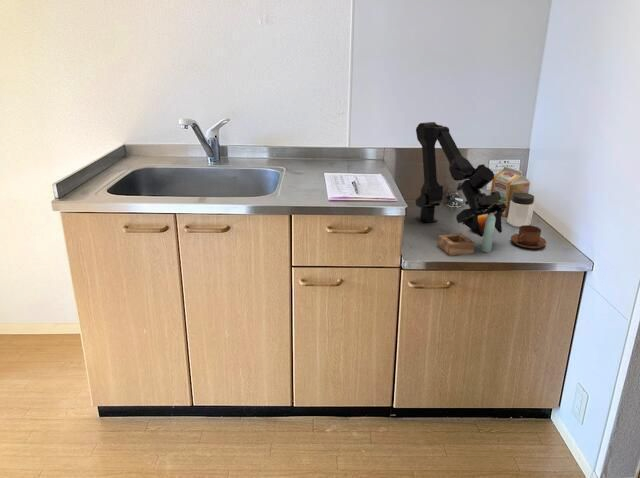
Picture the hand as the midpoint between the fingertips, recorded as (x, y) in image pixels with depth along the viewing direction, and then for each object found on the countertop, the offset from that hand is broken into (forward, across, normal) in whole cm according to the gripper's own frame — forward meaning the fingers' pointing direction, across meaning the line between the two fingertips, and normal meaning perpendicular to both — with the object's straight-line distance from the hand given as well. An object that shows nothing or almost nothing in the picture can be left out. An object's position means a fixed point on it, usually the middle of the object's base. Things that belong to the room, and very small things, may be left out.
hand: (491, 234), depth 171 cm
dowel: (+4, 0, +6) cm, 7 cm away
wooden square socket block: (0, -9, +10) cm, 13 cm away
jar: (-7, +31, +16) cm, 36 cm away
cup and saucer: (+6, +18, +5) cm, 19 cm away
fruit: (-7, +12, +17) cm, 21 cm away
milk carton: (-16, +37, +26) cm, 48 cm away
